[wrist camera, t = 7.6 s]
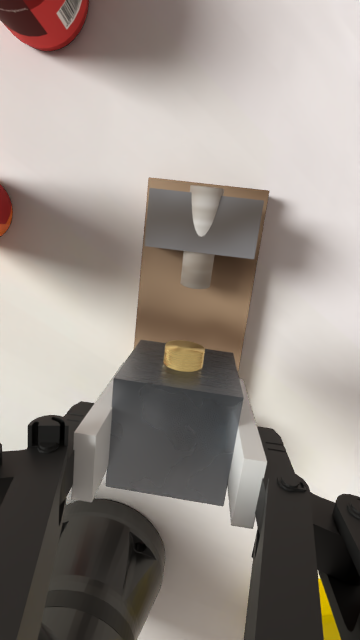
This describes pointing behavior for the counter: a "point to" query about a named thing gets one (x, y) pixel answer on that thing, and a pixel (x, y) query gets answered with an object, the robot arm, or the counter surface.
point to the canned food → (44, 21)
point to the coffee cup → (5, 211)
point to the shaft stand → (199, 263)
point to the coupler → (175, 421)
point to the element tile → (327, 617)
